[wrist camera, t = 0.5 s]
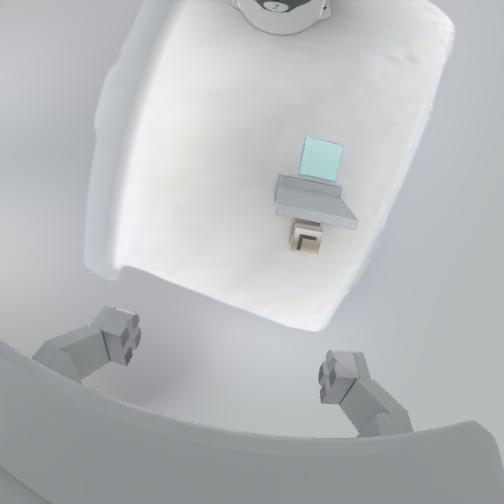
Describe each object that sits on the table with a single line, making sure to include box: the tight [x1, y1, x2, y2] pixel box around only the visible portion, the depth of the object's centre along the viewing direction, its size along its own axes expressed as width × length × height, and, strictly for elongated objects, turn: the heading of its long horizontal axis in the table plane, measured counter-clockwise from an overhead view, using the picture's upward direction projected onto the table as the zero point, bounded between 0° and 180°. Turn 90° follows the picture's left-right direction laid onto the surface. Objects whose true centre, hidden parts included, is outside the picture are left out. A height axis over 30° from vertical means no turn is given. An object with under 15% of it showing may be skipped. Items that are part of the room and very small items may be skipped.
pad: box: [299, 137, 343, 182], centre depth 48 cm, size 7×7×1 cm
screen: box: [275, 175, 358, 230], centre depth 45 cm, size 5×12×14 cm, turn 81°
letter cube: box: [290, 219, 323, 257], centre depth 52 cm, size 5×5×5 cm
